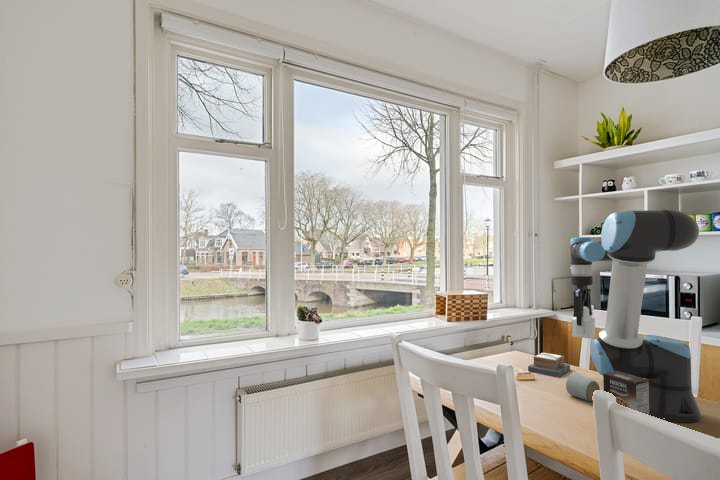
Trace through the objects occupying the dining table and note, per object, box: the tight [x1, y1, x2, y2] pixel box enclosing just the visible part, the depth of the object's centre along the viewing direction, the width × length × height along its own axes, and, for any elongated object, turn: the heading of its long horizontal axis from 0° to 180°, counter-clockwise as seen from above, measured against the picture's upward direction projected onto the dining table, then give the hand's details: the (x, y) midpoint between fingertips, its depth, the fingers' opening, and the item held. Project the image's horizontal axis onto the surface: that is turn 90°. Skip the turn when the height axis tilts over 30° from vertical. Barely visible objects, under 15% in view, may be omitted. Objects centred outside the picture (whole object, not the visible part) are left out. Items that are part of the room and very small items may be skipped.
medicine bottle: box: [571, 306, 596, 340], centre depth 162 cm, size 7×7×12 cm
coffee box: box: [602, 371, 650, 416], centre depth 112 cm, size 9×6×16 cm
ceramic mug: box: [565, 372, 601, 402], centre depth 139 cm, size 11×8×8 cm
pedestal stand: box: [527, 352, 571, 378], centre depth 170 cm, size 14×12×6 cm
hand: (583, 332), depth 162 cm, fingers closed on medicine bottle, 7 cm apart
